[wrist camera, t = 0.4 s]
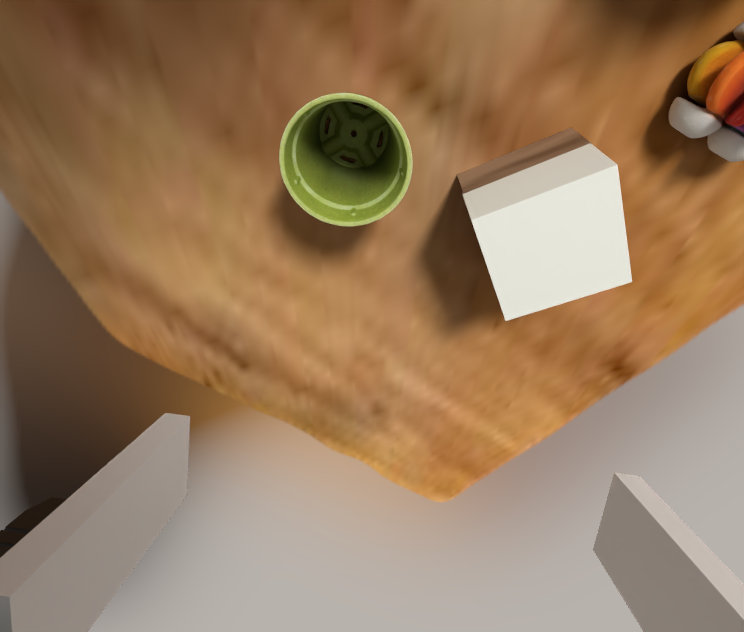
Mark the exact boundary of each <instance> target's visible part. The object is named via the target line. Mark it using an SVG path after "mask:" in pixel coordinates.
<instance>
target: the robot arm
mask: <svg viewBox="0 0 744 632" xmlns="http://www.w3.org/2000/svg"><path fill="white" fill-rule="evenodd" d="M189 433H190V416H185V415H177V414H170V413H165V414H164V415H163V416H161V417H160V418H159V419H158V420H157V421H156V422H155V423H153V424H152V425H151V426H150V427H149V428H148V429H147V430H146V431H144V432H143V433H142V434H141V435H140V436H139V437H138V438H137V439H135V440H134V441H133V442H132V443H131V444H130V445H128V446H127V447H126V448H125V449H124V450H123V451H122V452H120V453H119V454H118V455H117V456H116V457H115V458H114V459H113V460H111V461H110V462H109V463H108V464H107V465H106V466H104V467H103V468H102V469H101V470H100V471H99V472H98V473H97V474H96V475H94V476H93V477H92V478H91V479H90V480H89V481H87V482H86V483H85V484H84V485H83V486H82V487H81V488H79V490H77V491H76V492H75V493H74V494H73V495H71V496H70V497H69V498H68V499H61V498H53V497H52V498H50V499H48V500H46V501H44V502H42V503H40V504H38V505H36V506H34V507H32V508H30V509H28V510H26V511H25V512H23V513H22V514H21V515H20V516H18V517H17V518H16V519H15V520H13V521H12V522H11V523H10V524H9V525H8V526H6V528H5V530H1V531H0V632H88V631H89V629H90V628H91V626H92V625H93V624H94V622H95V621H96V620H97V618H98V617H99V615H100V614H101V613H102V611H103V610H104V609H105V607H106V606H107V604H108V603H109V602H110V600H111V599H112V598H113V596H114V595H115V593H116V592H117V591H118V589H119V588H120V586H121V585H122V584H123V582H124V581H125V580H126V578H127V577H128V576H129V574H130V573H131V571H132V570H133V569H134V567H135V566H136V565H137V563H138V562H139V560H140V559H141V558H142V556H143V555H144V554H145V552H146V551H147V549H148V548H149V546H150V545H151V544H152V542H153V541H154V540H155V538H156V537H157V535H158V534H159V533H160V531H161V530H162V529H163V527H164V526H165V525H166V523H167V522H168V520H169V519H170V518H171V516H172V515H173V513H174V512H175V511H176V509H177V508H178V507H179V505H180V504H181V503H182V501H183V500H184V498H185V497H186V495H187V487H188V460H189V459H188V458H189ZM593 550H594V551H595V553H596V555H597V557H598V558H599V560H600V561H601V563H602V565H603V566H604V568H605V570H606V571H607V573H608V575H609V576H610V578H611V579H612V581H613V583H614V584H615V586H616V588H617V589H618V591H619V592H620V594H621V596H622V597H623V599H624V600H625V602H626V604H627V605H628V607H629V609H630V610H631V612H632V614H633V615H634V617H635V619H636V620H637V622H638V623H639V625H640V627H641V628H642V630H643V632H744V584H743V583H742V582H741V581H740V580H739V579H738V578H737V577H736V576H735V575H734V574H733V573H732V572H731V571H730V570H729V568H727V566H726V565H724V563H723V562H722V561H721V560H720V559H719V558H718V557H717V556H716V555H715V554H714V553H713V552H712V551H711V550H710V549H709V548H708V547H707V546H706V545H705V544H704V543H703V542H702V541H701V540H700V539H699V537H698V536H697V535H696V534H695V533H694V532H693V531H692V530H691V529H690V528H689V527H688V526H687V525H686V524H685V523H684V522H683V521H682V520H681V519H680V518H679V517H678V516H677V515H676V514H675V513H674V511H672V509H671V508H670V507H669V506H668V505H667V504H666V503H665V502H664V501H663V500H662V499H661V498H660V497H659V496H658V495H657V494H656V493H655V492H654V491H653V490H652V489H651V488H650V487H649V486H648V485H647V484H646V482H645V481H644V480H643V479H642V478H641V477H640V476H635V475H627V474H619V473H614V476H613V480H612V484H611V487H610V490H609V494H608V498H607V501H606V505H605V508H604V512H603V516H602V519H601V523H600V526H599V530H598V534H597V537H596V541H595V545H594V548H593Z"/></svg>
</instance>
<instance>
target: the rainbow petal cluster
mask: <svg viewBox="0 0 744 632" xmlns="http://www.w3.org/2000/svg"><path fill="white" fill-rule="evenodd" d="M733 34H734V36H735V37H736V38H737V39H738V40H735V41H729V42H724V43H721V44H718V45H716V46H714V47H712V48H710V49H708V50H707V51H706V52H704V53H703V54H702V55H701V56H700V57H698V59H697V60H696V62H695V63H694V65H693V67H692V69H691V71H690V74H689V77H688V81H687V88H688V95H689V97H690V98H692V99H693V100H694V101H696V102H697V103H698V104H700V105H701V106H702V107H703V108H701V107H698V106H696V105H695V104H693V103H692V102H689V101H687V100H685V99H683V98H681V97H677V98H675V99H674V101H673V103H672V105H671V107H670V110H669V123H670V125H671V126H672V127H673V128H675V129H676V130H678V131H679V132H681V133H682V134H684V135H686V136H687V137H689V138H701V137H704V136H707V135H708V139H707V144H708V148H709V149H710V150H711V151H712V152H714V153H715V154H717V155H719V156H720V157H722V158H724V159H726V160H727V161H730V162H737V161H743V160H744V22H742V23H741V24H740V25H738V26H737V27H736V28H735V29H734V31H733ZM722 119H724V122H726V125H725V126H723V125H722V122H723V120H722Z"/></svg>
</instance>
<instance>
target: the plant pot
mask: <svg viewBox="0 0 744 632" xmlns="http://www.w3.org/2000/svg"><path fill="white" fill-rule="evenodd" d="M352 102H357V103H361V104H364V105H367V106H368V108H367V109H366V108H364V107H361V106H359V105H355V104H352ZM329 117H330V119H331V121H330V124H329V129H328V134H326V133H325V122H326V120H327V118H329ZM353 130H355V131H356V132H357V135H356V136H355V137H353V136H352V135H351V132H352V131H353ZM381 131H382V132H383V134H384V135H383V141H382V144H381V146H380V147H377V144H378V141H379V138H380V132H381ZM342 155H343V156H346V157H348V158H354V159H356V161H355V162H353V163H352V162H347V161H344V160H343V159H341V156H342ZM279 163H280V170H281V174H282V178H283V181H284V183H285V185H286V187H287V189H288V191H289V193H290V195H291V196H292V198H293V199H294V200H295V201H296V203H297V204H298V205H299V206H300V207H301V208H302V209H303V210H305V211H306V212H307V213H308V214H310V215H311V216H313V217H315V218H317V219H319V220H321V221H323V222H326V223H329V224H333V225H338V226H349V227H350V226H360V225H365V224H369V223H371V222H374V221H376V220H379V219H381V218H383V217H384V216H385V215H387V214H388V213H390V212H391V211H392V210H393V209H394V208H395V207H396V206H397V205H398V204H399V202H400V201H401V200H402V198H403V197H404V195H405V193H406V191H407V188H408V186H409V183H410V179H411V175H412V152H411V147H410V144H409V140H408V138H407V135H406V133H405V131H404V129H403V127H402V125H401V124H400V122H399V121H398V120H397V118H396V117H395V116H394V115H393V114H392V113H391V112H390V111H389V110H388V109H387V108H385V107H384V106H383V105H381V104H380V103H378V102H377V101H375V100H373V99H371V98H368V97H366V96H363V95H359V94H353V93H334V94H328V95H325V96H322V97H319V98H317V99H315V100H313V101H311V102H309V103H307V104H306V105H305V106H303V107H302V108H301V109H300V110H299V111H298V112H297V113H296V114H295V115H294V116H293V117H292V119H291V120H290V121H289V123H288V125H287V127H286V129H285V131H284V133H283V136H282V140H281V144H280V152H279Z"/></svg>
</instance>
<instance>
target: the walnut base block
mask: <svg viewBox="0 0 744 632" xmlns="http://www.w3.org/2000/svg"><path fill="white" fill-rule="evenodd" d="M587 144H590V142H589V141H588V140H586V139H585V138H584V137H583V136H581V135H580V134H579V133H578V132H576V131H575V130H574V129H573V128H569V129H566V130H564V131H561V132H559V133H556V134H554V135H552V136H549V137H547V138H544V139H542V140H540V141H537V142H535V143H532V144H530V145H527V146H525V147H523V148H520V149H518V150H515V151H513V152H510V153H508V154H506V155H503V156H501V157H498V158H496V159H494V160H491V161H489V162H486V163H484V164H481V165H479V166H477V167H474V168H472V169H469V170H467V171H465V172H462V173H460V174H457V176H458V179H459V182H460V185H461V188H462V191H463V194H464V193H467V192H469V191H472V190H474V189H477V188H479V187H482V186H484V185H487V184H489V183H492V182H494V181H497V180H499V179H502V178H504V177H507V176H509V175H512V174H514V173H517V172H519V171H522V170H524V169H527V168H529V167H532V166H534V165H537V164H539V163H542V162H544V161H547V160H549V159H552V158H554V157H557V156H559V155H562V154H564V153H567V152H569V151H572V150H574V149H577V148H579V147H582V146H585V145H587Z"/></svg>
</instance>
